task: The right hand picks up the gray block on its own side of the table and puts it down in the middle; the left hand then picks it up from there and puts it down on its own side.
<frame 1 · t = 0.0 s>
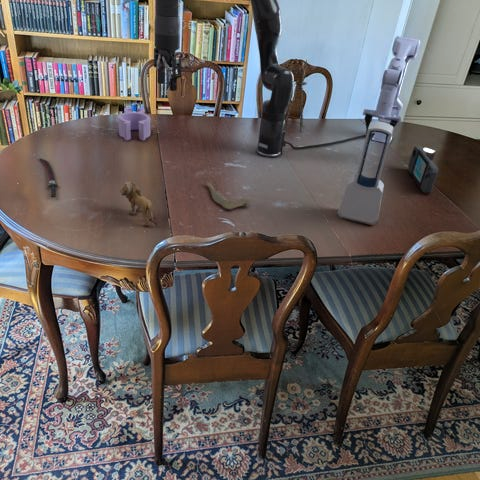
left hand: (166, 86, 148), 29 cm above the table, tool pointing down, fingers open, 8 cm apart
right hand: (376, 136, 185), 10 cm above the table, tool pointing down, fingers open, 7 cm apart
electronic device: (357, 218, 148), on the table
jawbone: (228, 196, 152), on the table
gray block: (424, 161, 195), on the table
handheld gaming console: (417, 181, 176), on the table
sword: (47, 177, 151), on the table
dark upright piece: (292, 128, 214), on the table
clip: (134, 132, 192), on the table
lion figurine: (139, 216, 136), on the table
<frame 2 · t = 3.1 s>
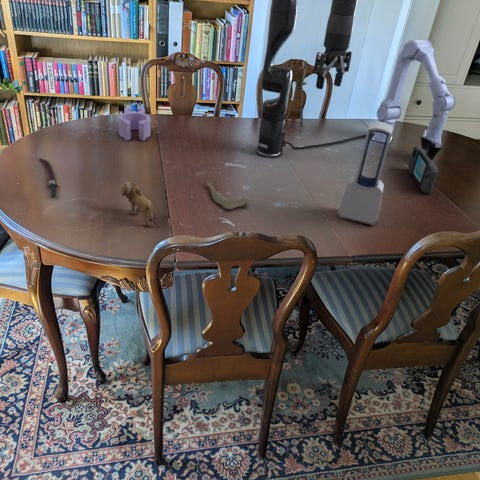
left hand: (328, 87, 145), 34 cm above the table, tool pointing down, fingers open, 8 cm apart
right hand: (426, 157, 194), 2 cm above the table, tool pointing down, fingers closed on gray block, 6 cm apart
gray block: (424, 161, 195), on the table, touching right hand
everything else where it was.
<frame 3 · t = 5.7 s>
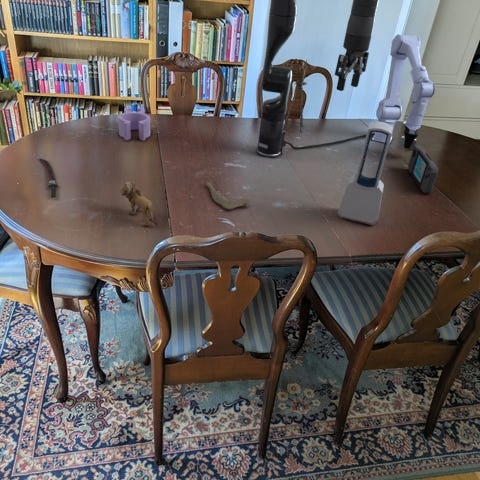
left hand: (347, 88, 145), 35 cm above the table, tool pointing down, fingers open, 8 cm apart
right hand: (406, 145, 193), 5 cm above the table, tool pointing down, fingers closed on gray block, 6 cm apart
gray block: (405, 149, 193), point 4 cm above the table, touching right hand
everything else where it was.
when the right hand's fingers open (2 cm above the table, at t = 8.4 s): gray block stays where it is, on the table.
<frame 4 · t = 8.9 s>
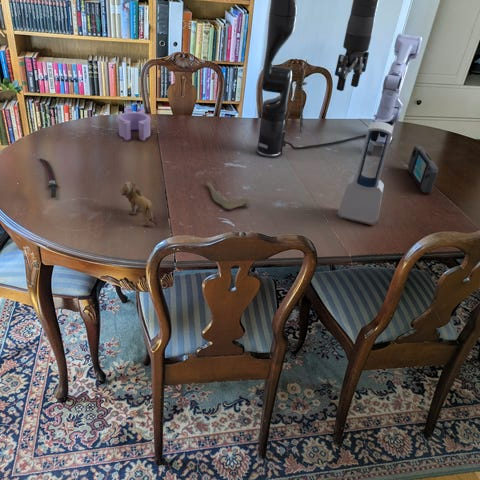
left hand: (347, 88, 145), 35 cm above the table, tool pointing down, fingers open, 8 cm apart
right hand: (377, 138, 193), 7 cm above the table, tool pointing down, fingers open, 7 cm apart
gray block: (374, 153, 196), on the table
everything else where it was.
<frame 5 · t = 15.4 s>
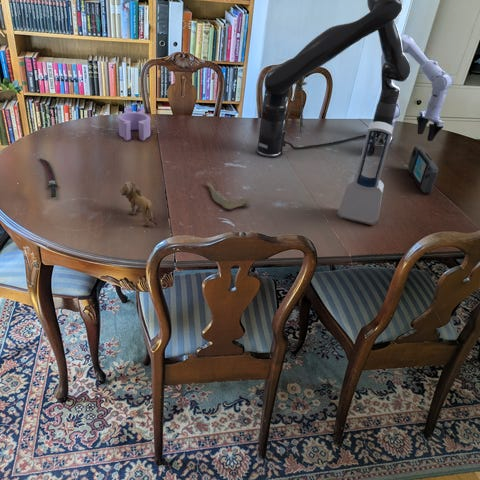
left hand: (374, 151, 196), 1 cm above the table, tool pointing down, fingers closed on gray block, 6 cm apart
right hand: (424, 137, 197), 8 cm above the table, tool pointing down, fingers open, 7 cm apart
gray block: (374, 153, 196), on the table, touching left hand
everything else where it was.
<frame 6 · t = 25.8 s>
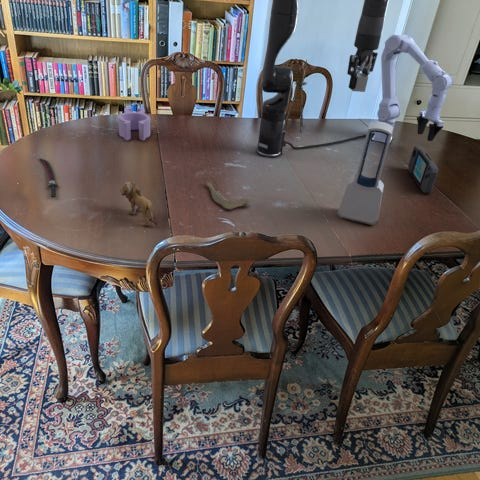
left hand: (356, 86, 152), 34 cm above the table, tool pointing down, fingers closed on gray block, 6 cm apart
right hand: (424, 137, 197), 8 cm above the table, tool pointing down, fingers open, 7 cm apart
gray block: (356, 89, 152), point 33 cm above the table, touching left hand
everything else where it was.
when the left hand's fingers open (2 cm above the table, at t = 36.4 s): gray block stays where it is, on the table.
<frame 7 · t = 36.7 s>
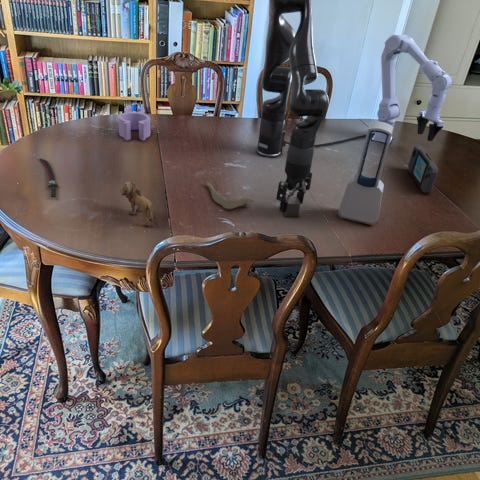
left hand: (291, 207, 145), 2 cm above the table, tool pointing down, fingers open, 8 cm apart
right hand: (424, 137, 197), 8 cm above the table, tool pointing down, fingers open, 7 cm apart
gray block: (290, 213, 146), on the table
everything else where it was.
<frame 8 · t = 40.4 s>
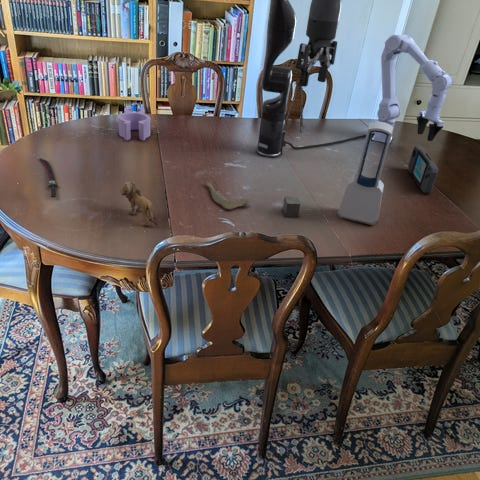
left hand: (312, 83, 125), 40 cm above the table, tool pointing down, fingers open, 8 cm apart
right hand: (424, 137, 197), 8 cm above the table, tool pointing down, fingers open, 7 cm apart
nothing on the table moved.
at the end: gray block inside the target area (0.1 cm from its centre), on the table; gray block tilted 0°; the two hands never held the gray block at the same time; the left hand is holding nothing; the right hand is holding nothing; gray block at rest at the end (0.0 cm/s) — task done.
